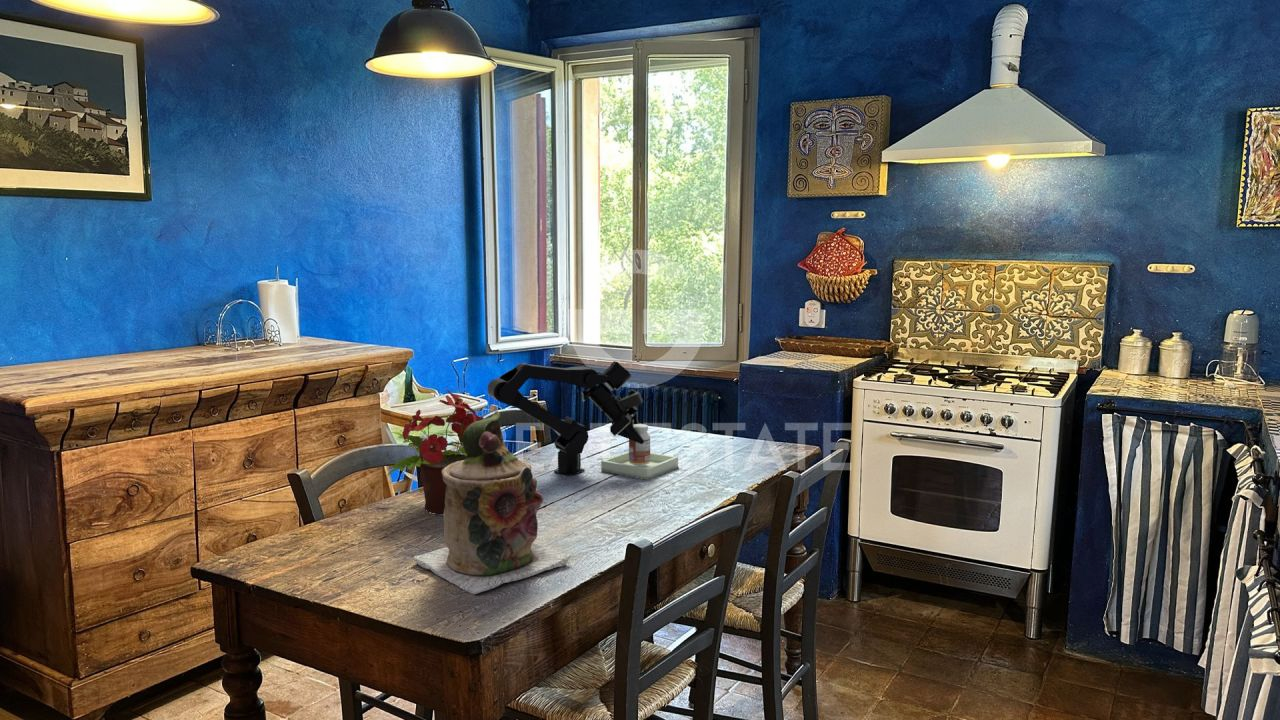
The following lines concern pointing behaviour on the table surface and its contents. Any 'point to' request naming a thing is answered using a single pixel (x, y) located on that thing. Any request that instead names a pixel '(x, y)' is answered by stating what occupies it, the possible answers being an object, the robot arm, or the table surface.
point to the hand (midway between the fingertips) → (644, 440)
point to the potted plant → (436, 451)
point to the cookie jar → (490, 516)
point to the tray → (653, 469)
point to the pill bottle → (640, 447)
